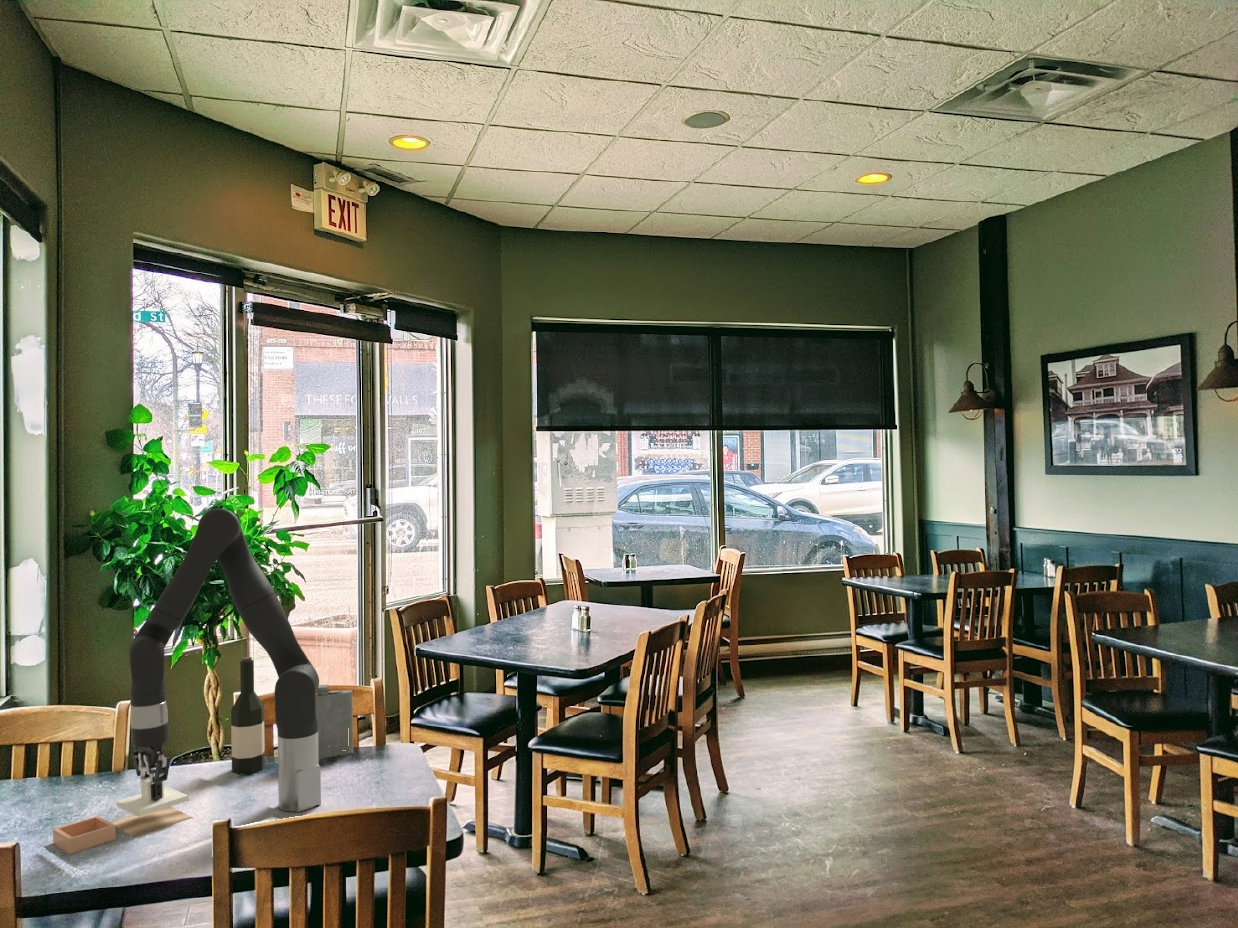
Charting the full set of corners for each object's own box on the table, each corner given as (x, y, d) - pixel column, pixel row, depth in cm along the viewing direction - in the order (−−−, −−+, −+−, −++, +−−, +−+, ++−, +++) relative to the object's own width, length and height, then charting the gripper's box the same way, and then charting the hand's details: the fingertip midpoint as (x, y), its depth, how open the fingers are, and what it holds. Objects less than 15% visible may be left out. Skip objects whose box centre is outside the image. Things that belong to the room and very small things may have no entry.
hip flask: (296, 764, 244) (295, 691, 244) (293, 760, 247) (291, 688, 247) (354, 753, 253) (353, 682, 252) (350, 749, 256) (349, 680, 256)
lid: (188, 800, 205) (187, 775, 205) (139, 816, 196) (138, 790, 196) (165, 790, 212) (164, 766, 212) (116, 806, 203) (115, 781, 203)
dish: (115, 843, 194) (115, 825, 194) (70, 858, 187) (69, 839, 187) (98, 833, 200) (97, 815, 199) (53, 847, 192) (52, 828, 192)
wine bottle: (253, 775, 236) (251, 661, 236) (224, 773, 237) (223, 660, 237) (271, 764, 244) (269, 655, 244) (244, 763, 246) (242, 654, 246)
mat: (193, 821, 205) (193, 817, 205) (134, 841, 195) (134, 836, 195) (166, 808, 213) (166, 804, 213) (108, 826, 203) (108, 822, 203)
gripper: (181, 722, 202) (184, 798, 203) (151, 713, 211) (154, 786, 211) (147, 731, 197) (150, 809, 197) (118, 721, 205) (121, 796, 205)
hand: (152, 797), depth 204 cm, fingers closed on lid, 3 cm apart
